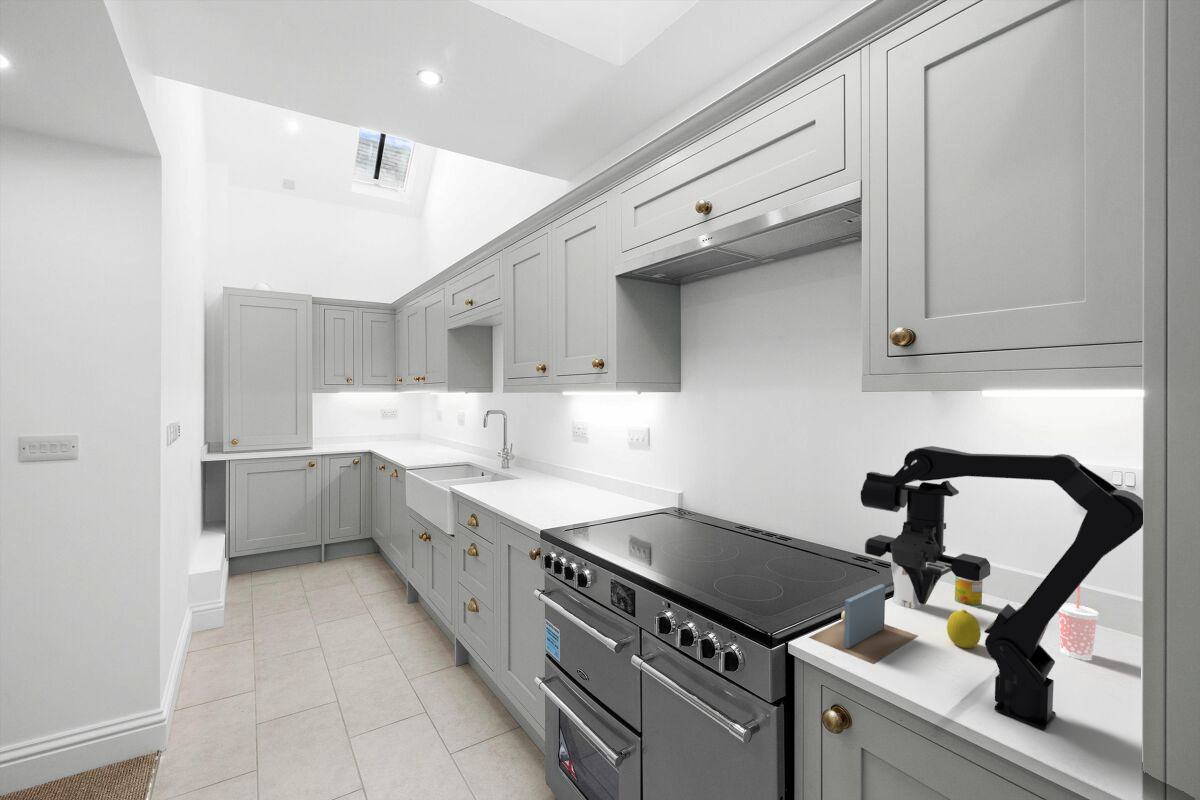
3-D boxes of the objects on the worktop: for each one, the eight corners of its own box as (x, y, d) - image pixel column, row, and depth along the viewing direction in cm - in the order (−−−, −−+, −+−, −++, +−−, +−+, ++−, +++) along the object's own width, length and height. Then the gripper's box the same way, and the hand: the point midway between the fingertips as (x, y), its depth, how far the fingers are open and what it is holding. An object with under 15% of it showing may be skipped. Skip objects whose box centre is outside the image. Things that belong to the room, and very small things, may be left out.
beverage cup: (1057, 643, 110) (1059, 575, 110) (1098, 654, 106) (1100, 583, 105) (1053, 654, 106) (1056, 583, 105) (1096, 666, 101) (1099, 592, 101)
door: (885, 627, 114) (886, 585, 113) (848, 648, 105) (850, 602, 104) (874, 624, 115) (875, 582, 115) (837, 643, 106) (839, 598, 106)
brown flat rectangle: (918, 640, 111) (918, 635, 111) (873, 669, 99) (873, 663, 99) (855, 618, 121) (855, 613, 121) (808, 642, 110) (808, 637, 109)
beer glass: (885, 600, 132) (886, 539, 131) (915, 602, 131) (917, 540, 130) (896, 612, 125) (898, 547, 124) (929, 614, 124) (931, 549, 123)
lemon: (985, 658, 104) (986, 617, 104) (953, 655, 105) (954, 614, 105) (971, 644, 109) (973, 605, 109) (941, 641, 110) (942, 603, 110)
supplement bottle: (949, 600, 132) (950, 560, 132) (969, 599, 133) (970, 560, 133) (966, 609, 127) (967, 568, 127) (987, 608, 128) (988, 567, 127)
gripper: (851, 512, 99) (848, 597, 100) (967, 536, 84) (964, 635, 85) (880, 505, 106) (877, 584, 106) (992, 525, 91) (989, 617, 92)
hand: (922, 603), depth 97 cm, fingers closed
